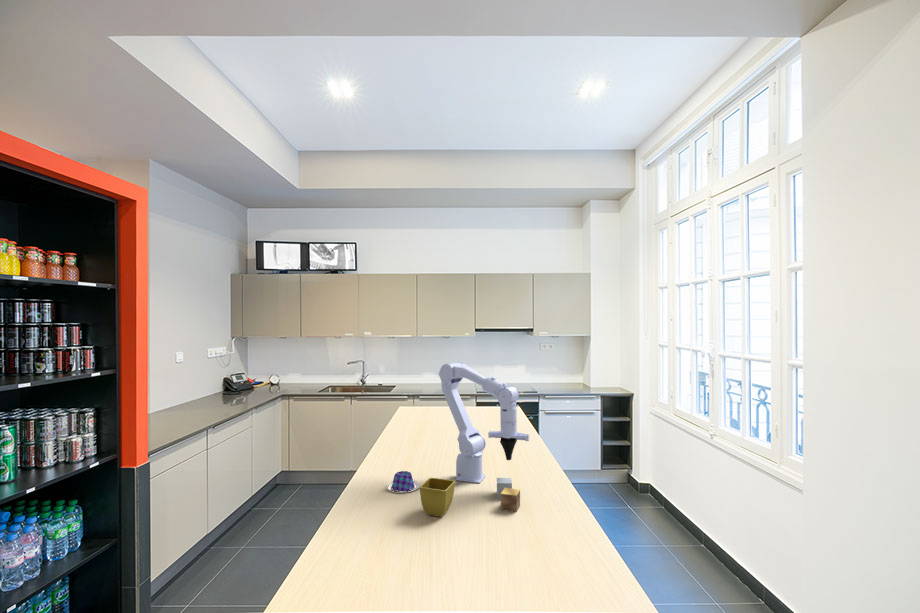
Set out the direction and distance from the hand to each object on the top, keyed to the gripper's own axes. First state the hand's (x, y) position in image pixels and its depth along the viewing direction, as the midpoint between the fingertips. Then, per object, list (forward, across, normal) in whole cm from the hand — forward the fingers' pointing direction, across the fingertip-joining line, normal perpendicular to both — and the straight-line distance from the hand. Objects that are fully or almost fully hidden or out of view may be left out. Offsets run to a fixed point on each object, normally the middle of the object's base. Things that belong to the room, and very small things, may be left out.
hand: (508, 459), depth 158 cm
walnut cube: (+5, +4, -16) cm, 17 cm away
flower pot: (+10, -16, -27) cm, 33 cm away
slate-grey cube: (+10, 0, -7) cm, 12 cm away
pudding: (+10, -36, -12) cm, 39 cm away
